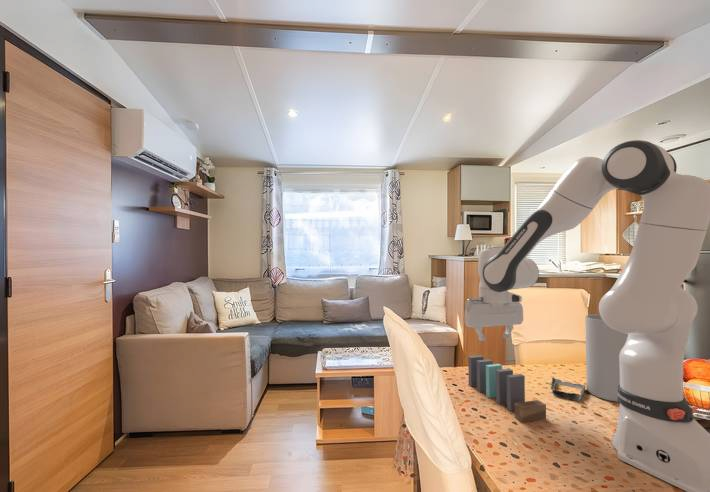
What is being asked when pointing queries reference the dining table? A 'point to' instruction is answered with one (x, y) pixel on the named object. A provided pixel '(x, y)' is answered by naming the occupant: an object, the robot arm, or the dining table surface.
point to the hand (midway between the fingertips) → (494, 339)
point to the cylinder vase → (603, 358)
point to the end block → (530, 411)
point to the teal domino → (491, 379)
